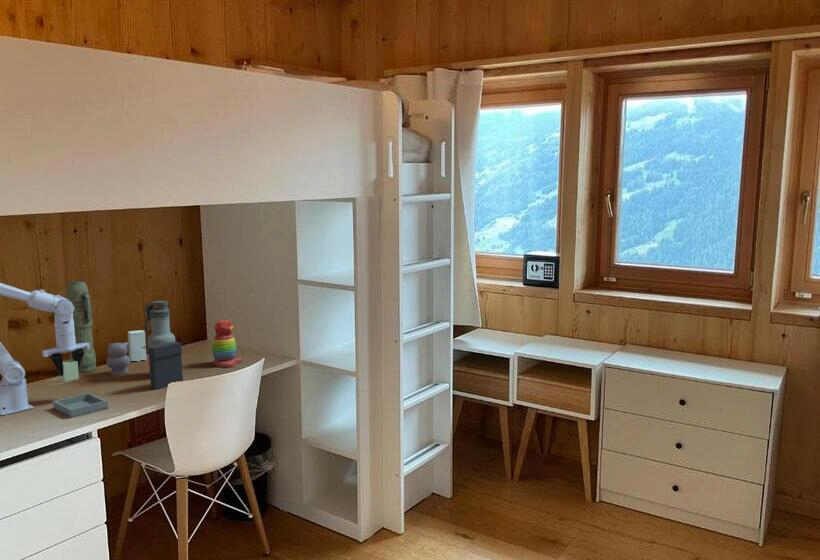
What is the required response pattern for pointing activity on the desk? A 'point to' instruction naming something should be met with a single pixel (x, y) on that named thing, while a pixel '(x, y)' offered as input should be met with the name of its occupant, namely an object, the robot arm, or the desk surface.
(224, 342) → the stacking bear
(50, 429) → the desk surface
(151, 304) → the water bottle
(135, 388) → the desk surface
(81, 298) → the thermos
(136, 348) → the skincare box
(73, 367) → the block
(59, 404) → the bin
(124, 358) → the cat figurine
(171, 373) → the dark gray box
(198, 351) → the desk surface
